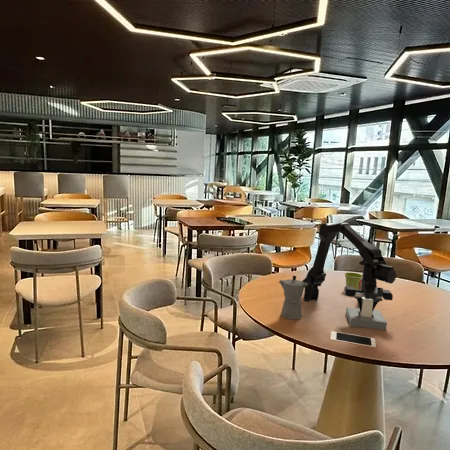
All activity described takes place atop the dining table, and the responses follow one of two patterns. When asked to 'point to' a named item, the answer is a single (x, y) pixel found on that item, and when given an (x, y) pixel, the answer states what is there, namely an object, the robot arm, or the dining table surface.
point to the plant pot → (353, 279)
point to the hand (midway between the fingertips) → (365, 312)
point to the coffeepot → (294, 297)
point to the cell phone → (353, 339)
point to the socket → (366, 319)
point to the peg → (366, 307)
